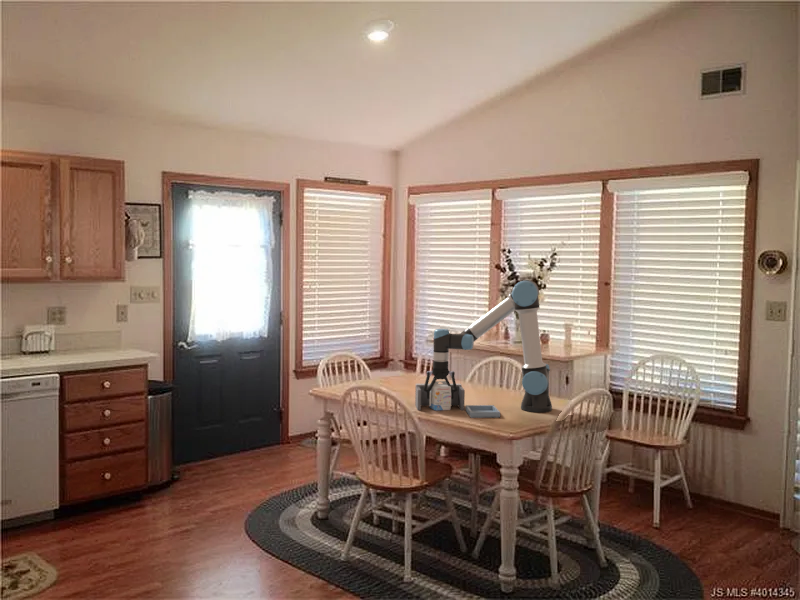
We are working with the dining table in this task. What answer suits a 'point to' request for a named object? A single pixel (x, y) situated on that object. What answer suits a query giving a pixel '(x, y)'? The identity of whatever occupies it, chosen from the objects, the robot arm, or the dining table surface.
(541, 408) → the robot arm
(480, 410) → the tray
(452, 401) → the bay
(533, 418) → the dining table surface
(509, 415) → the dining table surface
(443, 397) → the ink box
